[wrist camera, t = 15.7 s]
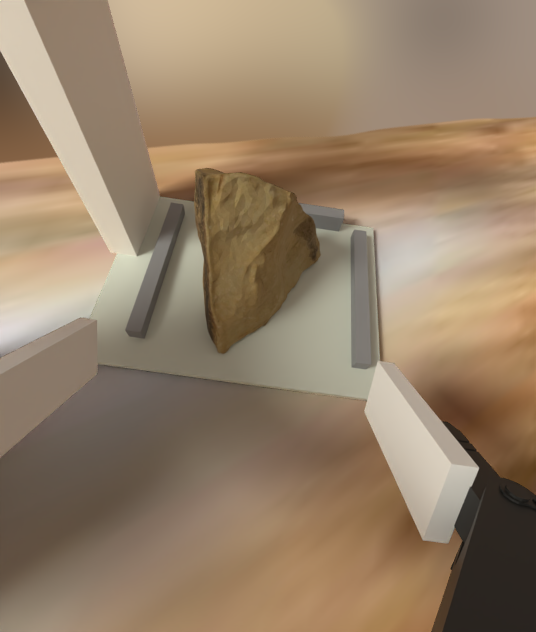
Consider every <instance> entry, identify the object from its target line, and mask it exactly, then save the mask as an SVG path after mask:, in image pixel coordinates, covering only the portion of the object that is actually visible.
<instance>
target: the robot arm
mask: <svg viewBox="0 0 536 632" xmlns="http://www.w3.org/2000/svg"><path fill="white" fill-rule="evenodd" d="M97 374H98V365H97V320H94V319H87V318H79V319H77V320H75V321H73V322H71V323H69V324H67V325H65V326H63V327H61V328H59V329H57V330H55V331H53V332H51V333H49V334H47V335H45V336H43V337H41V338H39V339H37V340H35V341H33V342H31V343H29V344H27V345H25V346H23V347H21V348H19V349H17V350H15V351H13V352H11V353H9V354H7V355H5V356H3V357H1V358H0V458H1V457H2V456H3V455H4V454H5V453H6V452H8V451H9V450H10V449H11V448H12V447H13V446H15V445H16V444H17V443H18V442H19V441H20V440H21V439H23V438H24V437H25V436H26V435H27V434H28V433H30V432H31V431H32V430H33V429H34V428H35V427H36V426H38V425H39V424H40V423H41V422H42V421H43V420H45V419H46V418H47V417H48V416H49V415H50V414H52V413H53V412H54V411H55V410H56V409H57V408H58V407H60V406H61V405H62V404H63V403H64V402H65V401H67V400H68V399H69V398H70V397H71V396H72V395H73V394H75V393H76V392H77V391H78V390H79V389H80V388H82V387H83V386H84V385H85V384H86V383H87V382H89V381H90V380H91V379H92V378H93V377H94V376H95V375H97ZM364 412H365V414H366V417H367V419H368V421H369V423H370V425H371V428H372V430H373V432H374V434H375V436H376V439H377V441H378V443H379V445H380V447H381V450H382V452H383V454H384V456H385V458H386V460H387V463H388V465H389V467H390V469H391V471H392V474H393V476H394V478H395V480H396V482H397V485H398V487H399V489H400V491H401V493H402V496H403V498H404V500H405V502H406V504H407V507H408V509H409V511H410V513H411V515H412V518H413V520H414V522H415V524H416V526H417V529H418V531H419V533H420V535H421V537H422V540H425V541H432V542H440V543H447V544H448V543H449V541H450V538H451V536H452V533H453V531H454V528H456V530H457V532H458V534H459V535H460V537H461V539H462V543H461V545H460V548H459V550H458V553H457V555H456V557H455V560H454V562H453V564H452V567H451V570H452V571H451V574H450V577H449V580H448V583H447V586H446V589H445V592H444V595H443V598H442V601H441V604H440V607H439V610H438V613H437V616H436V619H435V622H434V625H433V628H432V631H431V632H536V496H535V495H534V494H533V493H532V492H531V491H529V490H528V489H526V488H525V487H523V486H521V485H520V484H518V483H516V482H513V481H511V480H508V479H505V478H500V477H499V475H498V474H497V473H496V472H495V471H494V470H493V469H492V467H491V466H490V465H489V464H488V463H487V462H486V460H485V459H484V458H483V457H482V456H481V455H480V454H479V452H476V449H475V448H474V447H473V445H472V444H470V443H469V441H468V440H467V438H466V437H465V436H464V435H463V434H462V433H461V432H460V431H459V430H458V429H456V428H455V427H454V426H452V425H451V424H449V423H448V422H443V421H441V420H440V419H439V418H438V417H437V415H436V414H435V413H434V412H433V410H432V409H431V408H430V407H429V406H428V404H427V403H426V402H425V401H424V399H423V398H422V397H421V396H420V394H419V393H418V392H417V391H416V390H415V388H414V387H413V386H412V385H411V383H410V382H409V381H408V380H407V379H406V377H405V376H404V375H403V374H402V372H401V371H400V370H399V369H398V367H397V366H396V365H395V364H394V363H390V362H383V361H378V362H377V366H376V369H375V373H374V377H373V381H372V384H371V388H370V392H369V396H368V399H367V403H366V407H365V411H364Z"/></svg>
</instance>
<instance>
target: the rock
mask: <svg viewBox="0 0 536 632" xmlns="http://www.w3.org/2000/svg"><path fill="white" fill-rule="evenodd" d="M194 208H195V222H196V227H197V232H198V237H199V240H200V243H201V247H202V252H203V257H204V264H203V292H204V305H205V316H206V322H207V329H208V333H209V335H210V337H211V339H212V341H213V343H214V344H215V346H216V348H217V352H218V353H221V354H224V353H226V352H227V351H228V350H229V348H230V347H231V346H232V345H233V344H234V343H236V342H238V341H239V340H241V339H242V338H244V337H245V336H246V335H248V334H251V333H253V332H255V331H256V330H257V329H259V328H260V327H261V326H265V325H266V324H267V323H268V321H269V320H270V319H271V317H272V316H273V315H274V314H275V313H276V312H277V311H278V310H279V309H280V308H281V306H282V304H283V302H284V301H285V300H286V298H287V294H288V293H289V292H290V291H291V289H292V288H294V287H295V285H296V284H297V282H298V280H299V278H300V276H301V274H302V272H303V271H304V270H306V269H308V268H309V267H310V266H311V265H313V264H314V263H316V262H317V261H318V258H319V257H320V256H321V253H320V243H319V240H318V238H317V234H316V226H315V223H314V220H313V218H312V217H311V216H309V215H308V214H306V213H305V212H304V211H303V208H302V207H301V205H300V204H299V203H298V202H297V197H296V195H295V194H294V193H292V192H289V191H287V190H285V189H283V188H281V187H278V186H276V185H274V184H271V183H267V182H265V181H263V180H262V179H261V178H259V177H257V176H254V175H251V174H246V173H241V172H239V173H223V172H220V171H217V170H215V169H210V168H205V169H197V170H196V171H195V196H194Z"/></svg>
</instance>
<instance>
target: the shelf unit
mask: <svg viewBox="0 0 536 632" xmlns="http://www.w3.org/2000/svg"><path fill="white" fill-rule="evenodd" d="M0 51H1V53H2V55H3V57H4V58H5V60H6V62H7V64H8V66H9V68H10V69H11V71H12V73H13V75H14V77H15V78H16V80H17V82H18V84H19V86H20V88H21V89H22V91H23V93H24V95H25V97H26V99H27V100H28V102H29V104H30V106H31V108H32V109H33V111H34V113H35V115H36V117H37V119H38V121H39V122H40V124H41V126H42V128H43V130H44V132H45V133H46V135H47V137H48V139H49V140H50V143H51V144H52V146H53V148H54V150H55V152H56V154H57V155H58V157H59V159H60V161H61V163H62V165H63V166H64V168H65V170H66V172H67V174H68V176H69V177H70V179H71V181H72V183H73V185H74V187H75V188H76V190H77V192H78V194H79V196H80V198H81V199H82V201H83V203H84V205H85V207H86V209H87V210H88V212H89V214H90V216H91V218H92V220H93V221H94V223H95V225H96V227H97V229H98V231H99V232H100V234H101V236H102V238H103V240H104V242H105V243H106V245H107V247H108V249H109V251H110V252H111V253H116V254H117V255H116V258H115V260H114V262H113V265H112V267H111V269H110V272H109V274H108V276H107V279H106V281H105V283H104V286H103V288H102V290H101V293H100V295H99V297H98V300H97V302H96V304H95V307H94V309H93V311H92V314H91V316H90V319H94V320H97V364H100V365H107V366H114V367H122V368H129V369H136V370H143V371H151V372H158V373H165V374H173V375H180V376H187V377H195V378H202V379H209V380H216V381H224V382H231V383H238V384H246V385H253V386H260V387H267V388H275V389H282V390H289V391H297V392H304V393H311V394H319V395H326V396H333V397H340V398H348V399H355V400H362V401H367V399H368V396H369V392H370V388H371V384H372V381H373V377H374V373H375V369H376V366H377V362H378V361H380V351H379V331H378V312H377V292H376V273H375V254H374V234H373V228H371V227H364V226H357V225H350V224H343V223H342V222H343V220H344V210H342V209H336V208H329V207H322V206H315V205H309V204H302V203H299V204H300V205H301V207H302V208H303V211H304V212H305V213H306V214H308V215H309V216H311V217H312V218H313V220H314V223H315V226H316V234H317V238H318V240H319V243H320V253H321V256H320V257H319V258H318V261H317V262H316V263H314V264H313V265H311V266H310V267H309V268H308V269H306V270H304V271H303V272H302V274H301V276H300V278H299V280H298V282H297V284H296V285H295V287H294V288H292V289H291V291H290V292H289V293H288V294H287V298H286V300H285V301H284V302H283V304H282V306H281V308H280V309H279V310H278V311H277V312H276V313H275V314H274V315H273V316H272V317H271V319H270V320H269V321H268V323H267V324H266V325H265V326H261V327H260V328H259V329H257V330H256V331H255V332H253V333H251V334H248V335H246V336H245V337H244V338H242V339H241V340H239V341H238V342H236V343H234V344H233V345H232V346H231V347H230V348H229V350H228V351H227V352H226V353H224V354H221V353H218V352H217V348H216V346H215V344H214V343H213V341H212V339H211V337H210V335H209V333H208V329H207V322H206V316H205V305H204V292H203V264H204V257H203V252H202V247H201V243H200V240H199V237H198V232H197V227H196V222H195V208H194V201H188V200H181V199H174V198H167V197H160V194H159V190H158V187H157V183H156V179H155V175H154V172H153V168H152V164H151V161H150V157H149V153H148V149H147V146H146V142H145V139H144V135H143V131H142V127H141V123H140V120H139V116H138V113H137V108H136V105H135V101H134V98H133V94H132V90H131V86H130V82H129V79H128V76H127V71H126V67H125V64H124V60H123V56H122V53H121V49H120V45H119V41H118V38H117V34H116V30H115V27H114V23H113V19H112V15H111V12H110V8H109V4H108V1H107V0H0Z"/></svg>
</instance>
